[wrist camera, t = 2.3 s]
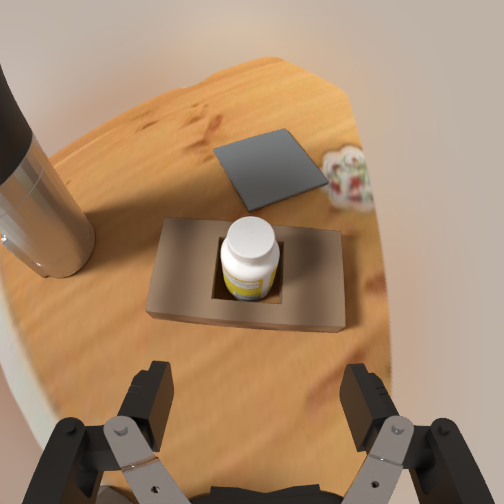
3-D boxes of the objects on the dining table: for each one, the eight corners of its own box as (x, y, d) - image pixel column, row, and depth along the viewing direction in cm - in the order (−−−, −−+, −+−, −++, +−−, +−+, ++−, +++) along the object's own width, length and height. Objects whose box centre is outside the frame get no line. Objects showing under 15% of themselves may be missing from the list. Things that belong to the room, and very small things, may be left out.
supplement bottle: (255, 249, 35) (260, 199, 27) (282, 286, 34) (297, 245, 25) (214, 272, 34) (207, 227, 25) (240, 312, 32) (241, 278, 23)
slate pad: (249, 212, 38) (249, 210, 37) (213, 151, 42) (213, 148, 42) (327, 183, 41) (328, 181, 40) (284, 130, 45) (285, 128, 45)
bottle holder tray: (333, 243, 36) (340, 231, 34) (336, 332, 31) (345, 326, 29) (169, 230, 36) (165, 217, 33) (152, 318, 31) (145, 310, 29)
